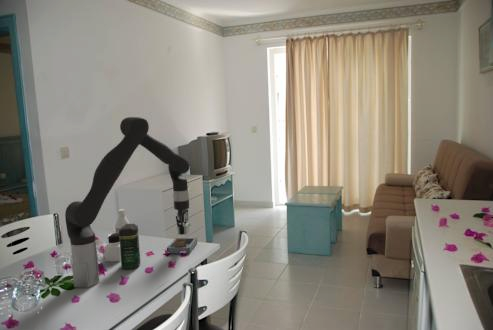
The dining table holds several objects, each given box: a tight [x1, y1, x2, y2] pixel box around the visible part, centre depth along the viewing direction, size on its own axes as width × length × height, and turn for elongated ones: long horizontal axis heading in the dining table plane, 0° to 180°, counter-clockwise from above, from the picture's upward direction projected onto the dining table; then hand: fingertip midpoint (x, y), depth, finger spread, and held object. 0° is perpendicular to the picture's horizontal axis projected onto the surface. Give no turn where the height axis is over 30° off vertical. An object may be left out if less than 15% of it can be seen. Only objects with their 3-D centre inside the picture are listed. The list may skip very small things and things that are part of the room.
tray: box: [166, 237, 198, 255], centre depth 196 cm, size 15×11×3 cm
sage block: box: [177, 222, 190, 236], centre depth 198 cm, size 4×4×4 cm
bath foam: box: [115, 208, 131, 233], centre depth 199 cm, size 7×7×20 cm
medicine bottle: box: [103, 232, 121, 263], centre depth 185 cm, size 7×7×12 cm
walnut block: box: [174, 239, 186, 247], centre depth 193 cm, size 4×4×4 cm
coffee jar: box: [119, 223, 141, 270], centre depth 176 cm, size 10×8×19 cm
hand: (183, 232), depth 198 cm, fingers closed on sage block, 4 cm apart
